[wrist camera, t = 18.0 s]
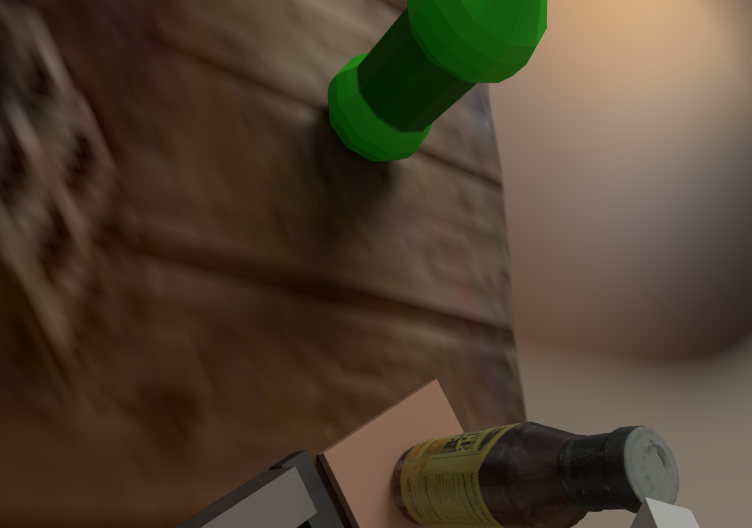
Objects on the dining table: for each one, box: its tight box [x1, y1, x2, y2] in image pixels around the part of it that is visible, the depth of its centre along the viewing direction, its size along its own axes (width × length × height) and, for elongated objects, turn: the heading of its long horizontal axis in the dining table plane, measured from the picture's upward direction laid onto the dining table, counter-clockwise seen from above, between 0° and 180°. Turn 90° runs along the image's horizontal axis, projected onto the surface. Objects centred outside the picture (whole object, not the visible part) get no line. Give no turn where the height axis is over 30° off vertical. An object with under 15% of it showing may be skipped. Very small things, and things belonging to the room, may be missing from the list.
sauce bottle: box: [393, 422, 679, 528], centre depth 36 cm, size 7×6×20 cm
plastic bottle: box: [328, 0, 547, 162], centre depth 45 cm, size 10×10×25 cm
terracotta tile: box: [317, 379, 464, 528], centre depth 44 cm, size 12×12×1 cm
